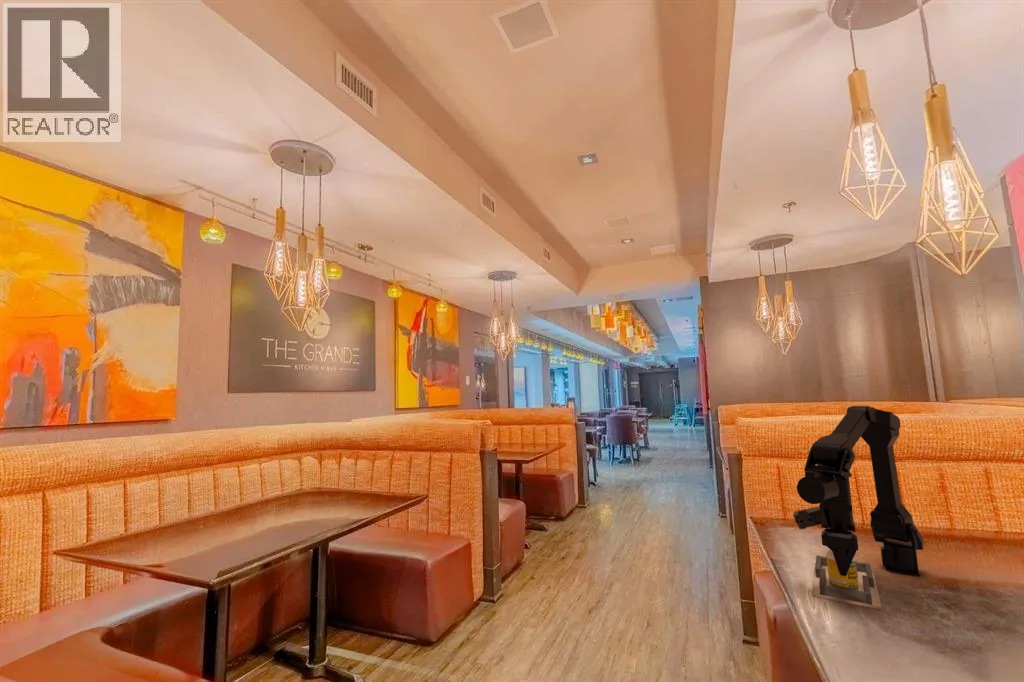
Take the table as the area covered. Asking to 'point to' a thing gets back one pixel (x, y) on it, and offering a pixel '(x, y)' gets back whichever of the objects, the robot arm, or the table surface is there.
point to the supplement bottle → (838, 580)
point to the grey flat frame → (861, 597)
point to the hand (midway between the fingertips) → (842, 571)
